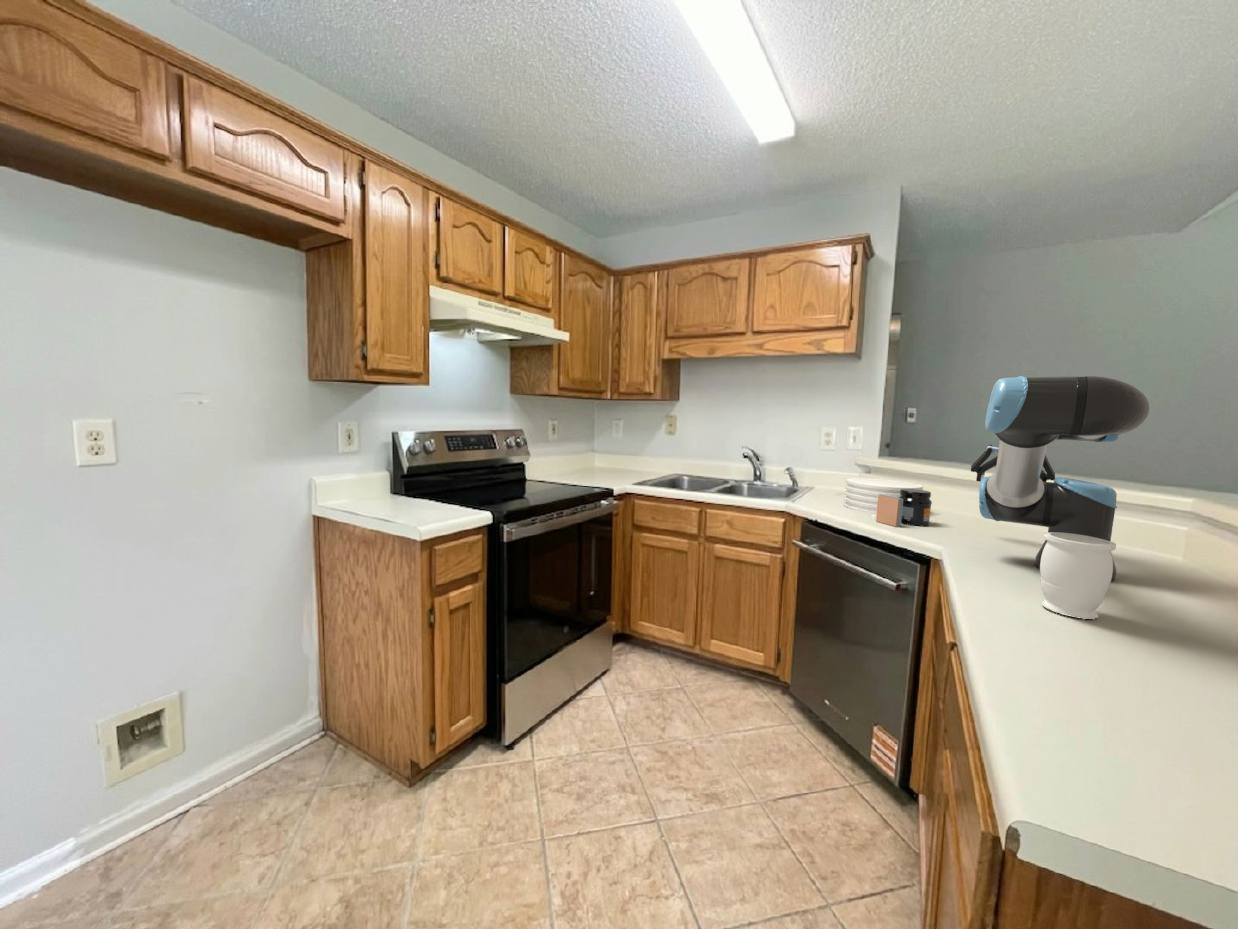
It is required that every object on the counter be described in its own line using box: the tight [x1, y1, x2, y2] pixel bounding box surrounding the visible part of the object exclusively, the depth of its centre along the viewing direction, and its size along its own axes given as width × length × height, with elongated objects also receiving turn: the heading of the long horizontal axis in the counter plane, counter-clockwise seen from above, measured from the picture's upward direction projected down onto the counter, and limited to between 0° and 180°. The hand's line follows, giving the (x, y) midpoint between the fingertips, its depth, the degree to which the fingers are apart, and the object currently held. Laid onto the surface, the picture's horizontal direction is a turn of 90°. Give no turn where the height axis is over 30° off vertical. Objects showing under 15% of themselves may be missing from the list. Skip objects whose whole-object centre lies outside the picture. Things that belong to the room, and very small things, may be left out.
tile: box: [875, 494, 903, 528], centre depth 173 cm, size 2×9×10 cm, turn 17°
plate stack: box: [843, 477, 924, 516], centre depth 202 cm, size 28×28×12 cm
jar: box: [1039, 532, 1117, 620], centre depth 96 cm, size 11×10×15 cm
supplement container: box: [899, 489, 933, 527], centre depth 177 cm, size 10×10×12 cm
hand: (1007, 492), depth 154 cm, fingers open, 13 cm apart
